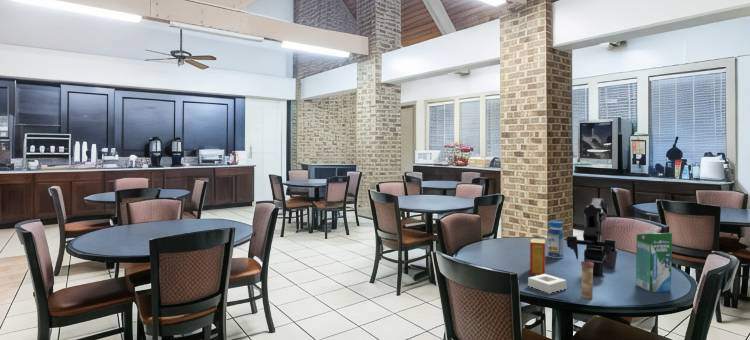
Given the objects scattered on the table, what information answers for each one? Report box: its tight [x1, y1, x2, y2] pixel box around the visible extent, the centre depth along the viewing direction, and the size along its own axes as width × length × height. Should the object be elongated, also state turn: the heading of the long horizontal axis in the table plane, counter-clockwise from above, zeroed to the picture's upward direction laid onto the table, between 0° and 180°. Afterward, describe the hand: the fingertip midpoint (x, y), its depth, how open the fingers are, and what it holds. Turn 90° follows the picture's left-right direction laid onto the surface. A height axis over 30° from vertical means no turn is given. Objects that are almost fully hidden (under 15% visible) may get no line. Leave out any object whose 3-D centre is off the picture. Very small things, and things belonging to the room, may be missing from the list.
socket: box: [527, 273, 567, 294], centre depth 177 cm, size 11×11×4 cm
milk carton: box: [635, 230, 673, 293], centre depth 175 cm, size 9×9×25 cm
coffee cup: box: [603, 248, 619, 269], centre depth 207 cm, size 8×8×10 cm
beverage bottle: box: [547, 220, 565, 259], centre depth 228 cm, size 8×8×20 cm
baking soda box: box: [529, 238, 546, 275], centre depth 200 cm, size 10×6×16 cm
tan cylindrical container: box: [580, 261, 594, 300], centre depth 166 cm, size 5×5×14 cm
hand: (589, 260), depth 172 cm, fingers open, 9 cm apart
